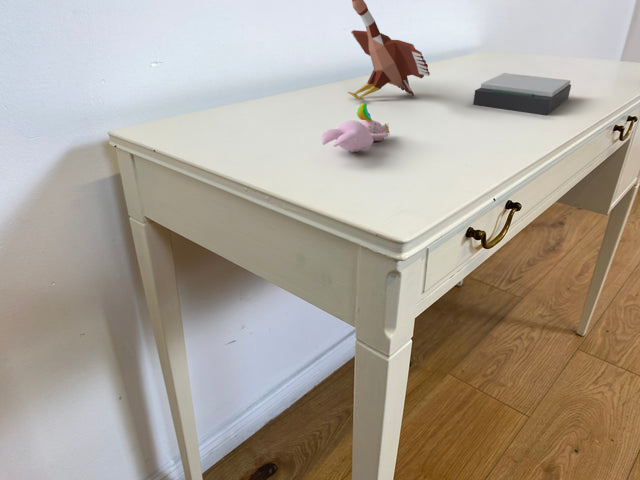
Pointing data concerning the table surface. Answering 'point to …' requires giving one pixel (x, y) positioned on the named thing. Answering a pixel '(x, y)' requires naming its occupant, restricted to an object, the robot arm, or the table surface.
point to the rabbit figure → (357, 132)
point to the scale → (523, 93)
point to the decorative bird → (386, 56)
